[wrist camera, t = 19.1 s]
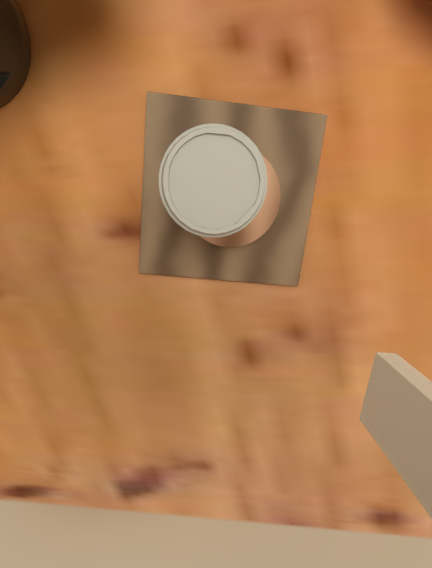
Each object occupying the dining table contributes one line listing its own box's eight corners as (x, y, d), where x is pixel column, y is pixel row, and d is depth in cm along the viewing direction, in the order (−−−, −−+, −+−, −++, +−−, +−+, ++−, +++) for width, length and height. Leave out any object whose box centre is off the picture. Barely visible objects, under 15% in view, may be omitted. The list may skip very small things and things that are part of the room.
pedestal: (140, 271, 45) (135, 278, 42) (148, 94, 40) (142, 83, 36) (295, 284, 47) (304, 292, 43) (324, 116, 42) (337, 108, 38)
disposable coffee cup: (182, 236, 41) (177, 252, 29) (157, 156, 38) (140, 139, 26) (257, 213, 40) (281, 221, 29) (237, 132, 38) (255, 105, 26)
